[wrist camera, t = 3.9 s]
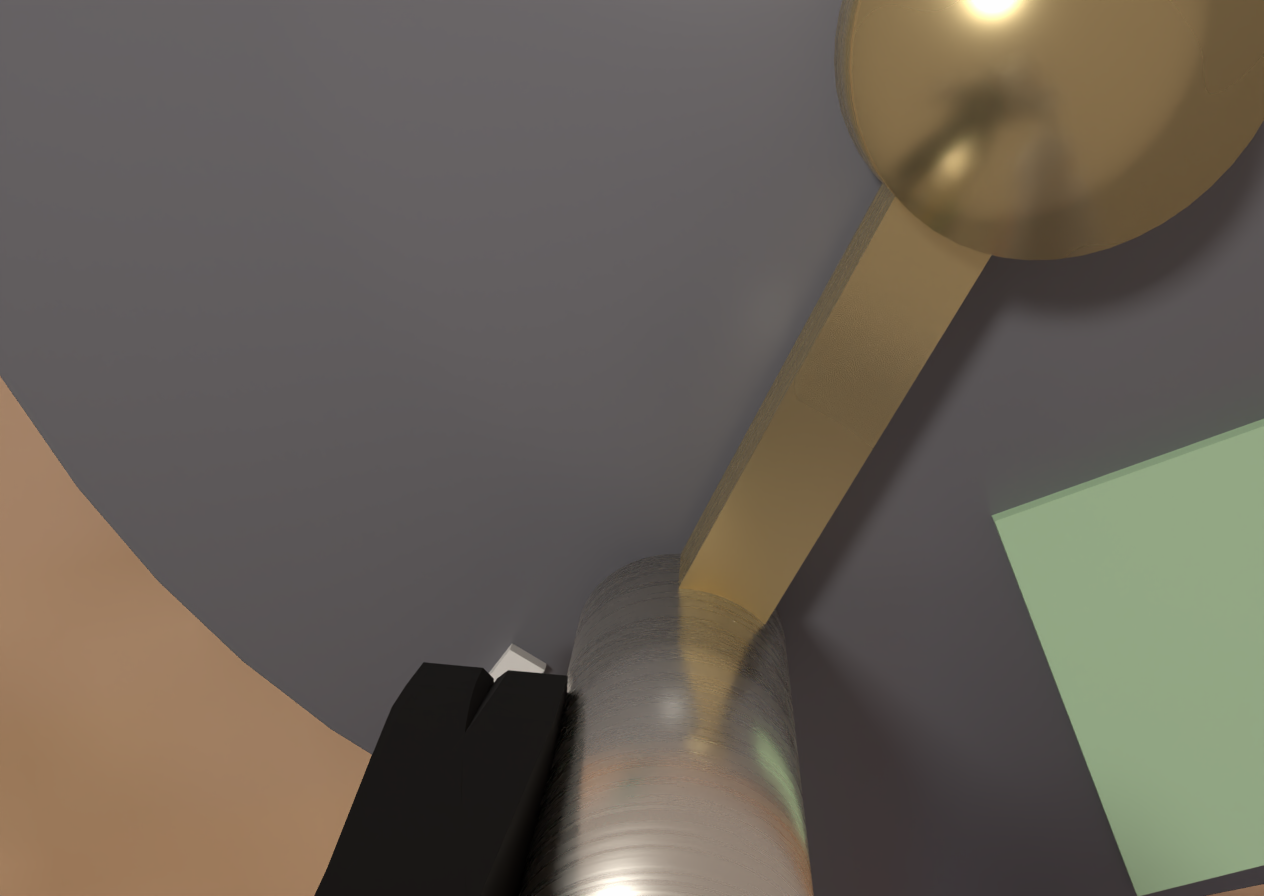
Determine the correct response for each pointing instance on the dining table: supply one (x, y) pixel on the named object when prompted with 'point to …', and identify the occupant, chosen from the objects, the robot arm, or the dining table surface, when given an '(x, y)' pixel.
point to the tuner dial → (643, 404)
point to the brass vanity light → (868, 399)
